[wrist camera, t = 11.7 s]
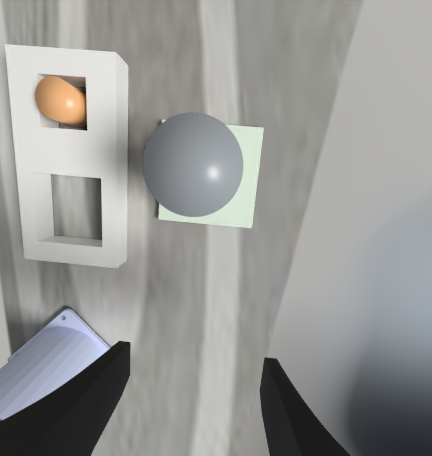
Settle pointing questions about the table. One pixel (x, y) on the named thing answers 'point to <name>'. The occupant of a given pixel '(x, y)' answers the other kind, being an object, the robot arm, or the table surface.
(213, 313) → the table surface
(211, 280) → the table surface
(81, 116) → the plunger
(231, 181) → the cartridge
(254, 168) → the mat
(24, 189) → the housing
